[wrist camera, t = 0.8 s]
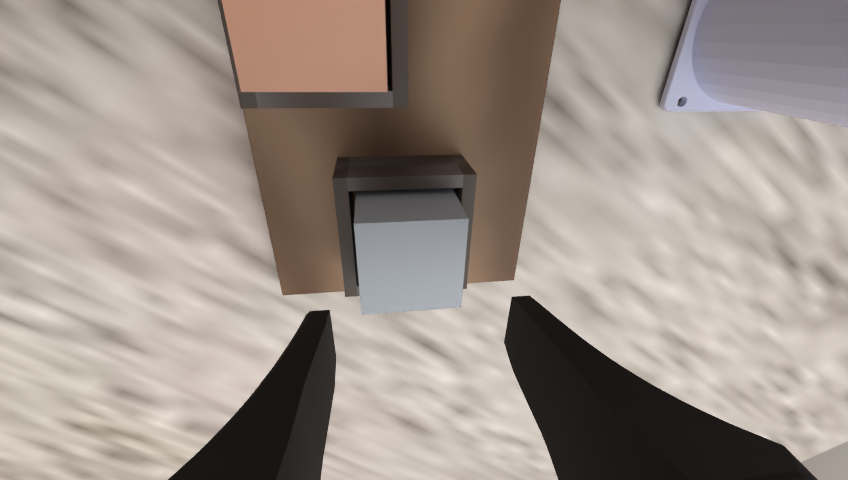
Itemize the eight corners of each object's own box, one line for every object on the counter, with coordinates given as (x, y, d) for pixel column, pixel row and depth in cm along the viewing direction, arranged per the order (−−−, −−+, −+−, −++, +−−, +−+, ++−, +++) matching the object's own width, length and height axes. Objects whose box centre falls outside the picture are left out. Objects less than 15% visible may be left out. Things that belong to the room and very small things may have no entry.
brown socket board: (639, -563, 10) (778, -867, 7) (508, 271, 24) (532, 311, 21) (84, -696, 8) (-112, -1196, 5) (286, 285, 22) (271, 331, 19)
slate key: (451, 186, 17) (468, 218, 14) (446, 264, 19) (461, 307, 16) (356, 189, 17) (353, 223, 14) (362, 269, 19) (361, 314, 16)
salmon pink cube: (378, -62, 12) (382, -91, 9) (383, 79, 15) (387, 91, 12) (242, -68, 12) (199, -102, 9) (268, 79, 14) (241, 91, 11)
